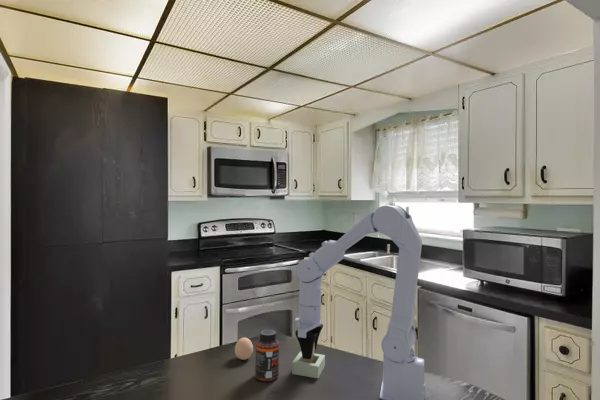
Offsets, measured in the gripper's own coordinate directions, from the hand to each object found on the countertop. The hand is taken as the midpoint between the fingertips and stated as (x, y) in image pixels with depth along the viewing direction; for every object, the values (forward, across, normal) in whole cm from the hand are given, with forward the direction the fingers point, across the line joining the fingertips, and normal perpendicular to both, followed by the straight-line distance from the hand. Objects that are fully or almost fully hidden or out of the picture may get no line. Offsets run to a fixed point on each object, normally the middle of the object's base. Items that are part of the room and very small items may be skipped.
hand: (309, 355), depth 94 cm
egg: (+4, 0, -19) cm, 19 cm away
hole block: (+4, 0, 0) cm, 4 cm away
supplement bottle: (+4, +7, -9) cm, 12 cm away
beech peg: (+4, 0, 0) cm, 4 cm away
